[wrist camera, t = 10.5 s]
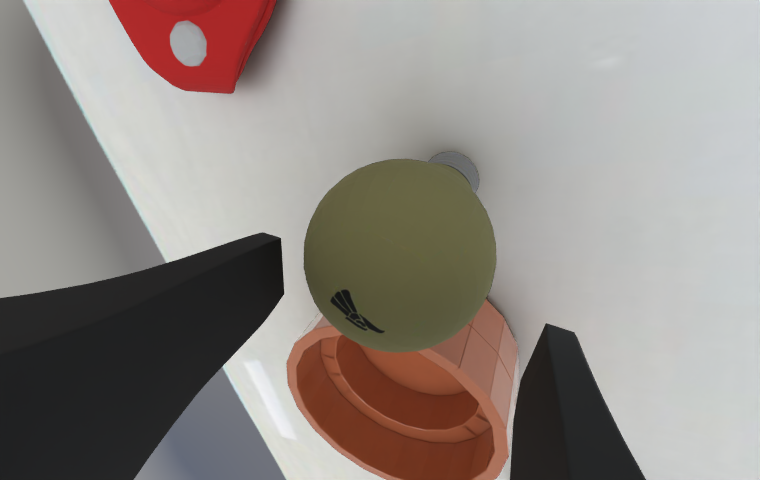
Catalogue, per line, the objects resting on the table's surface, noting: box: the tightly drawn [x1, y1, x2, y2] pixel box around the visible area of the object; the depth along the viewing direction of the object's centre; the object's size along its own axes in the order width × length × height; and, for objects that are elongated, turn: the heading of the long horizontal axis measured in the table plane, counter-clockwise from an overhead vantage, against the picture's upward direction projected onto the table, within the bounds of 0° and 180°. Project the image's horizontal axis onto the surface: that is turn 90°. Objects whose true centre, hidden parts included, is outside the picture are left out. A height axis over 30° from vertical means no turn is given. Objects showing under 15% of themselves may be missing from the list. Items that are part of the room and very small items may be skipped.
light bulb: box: [304, 152, 496, 353], centre depth 13 cm, size 6×6×10 cm
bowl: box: [287, 299, 519, 480], centre depth 21 cm, size 11×11×6 cm
